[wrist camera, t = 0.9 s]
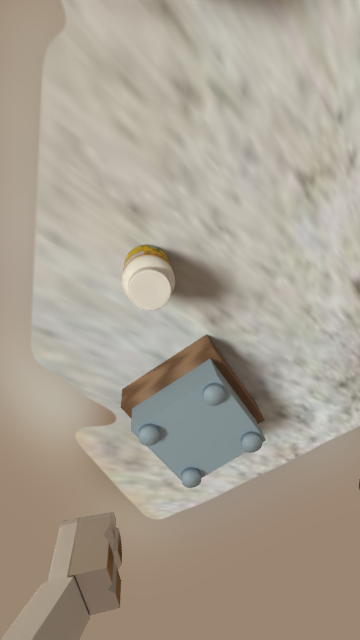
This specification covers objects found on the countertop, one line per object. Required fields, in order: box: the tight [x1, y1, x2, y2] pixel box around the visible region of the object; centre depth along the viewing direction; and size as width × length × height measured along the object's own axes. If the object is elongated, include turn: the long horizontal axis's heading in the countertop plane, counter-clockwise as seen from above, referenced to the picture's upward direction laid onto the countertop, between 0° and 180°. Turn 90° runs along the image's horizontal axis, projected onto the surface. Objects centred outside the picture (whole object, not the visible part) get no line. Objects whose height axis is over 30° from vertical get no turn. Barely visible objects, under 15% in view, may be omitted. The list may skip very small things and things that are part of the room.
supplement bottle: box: [122, 244, 175, 310], centre depth 34 cm, size 5×5×10 cm
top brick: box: [131, 359, 265, 488], centre depth 40 cm, size 12×12×5 cm
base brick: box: [121, 335, 265, 424], centre depth 44 cm, size 14×14×4 cm
